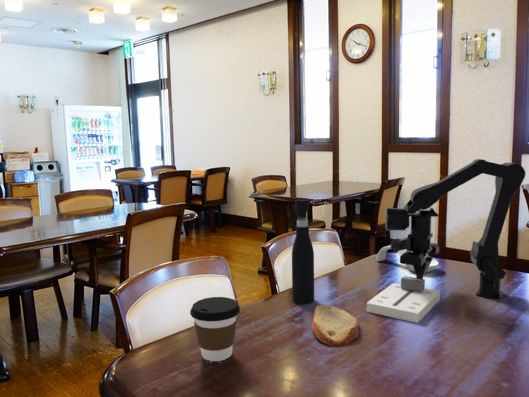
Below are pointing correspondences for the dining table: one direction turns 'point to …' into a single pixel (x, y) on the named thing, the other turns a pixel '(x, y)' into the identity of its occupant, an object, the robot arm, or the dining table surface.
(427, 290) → the console
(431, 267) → the spoon rest
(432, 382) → the dining table surface
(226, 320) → the coffee cup
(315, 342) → the dining table surface
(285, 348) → the dining table surface
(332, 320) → the slice of bread
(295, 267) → the black bottle
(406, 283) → the fader
